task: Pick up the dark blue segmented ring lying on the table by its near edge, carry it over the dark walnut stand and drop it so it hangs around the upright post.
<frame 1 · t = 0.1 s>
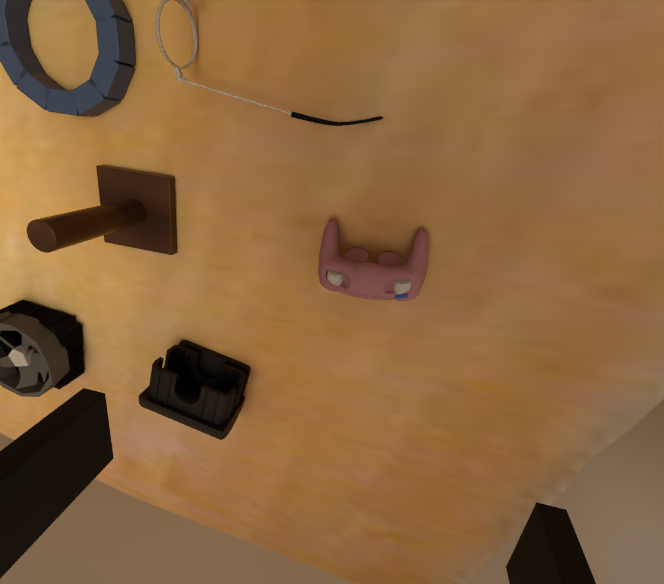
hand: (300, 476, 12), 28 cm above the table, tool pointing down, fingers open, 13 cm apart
eyeglasses: (293, 7, 32), on the table
video game controller: (375, 251, 38), on the table
stand: (141, 209, 41), on the table
end cap: (212, 374, 48), on the table
cpu cooler: (54, 337, 50), on the table
dark blue segmented ring: (71, 38, 36), on the table
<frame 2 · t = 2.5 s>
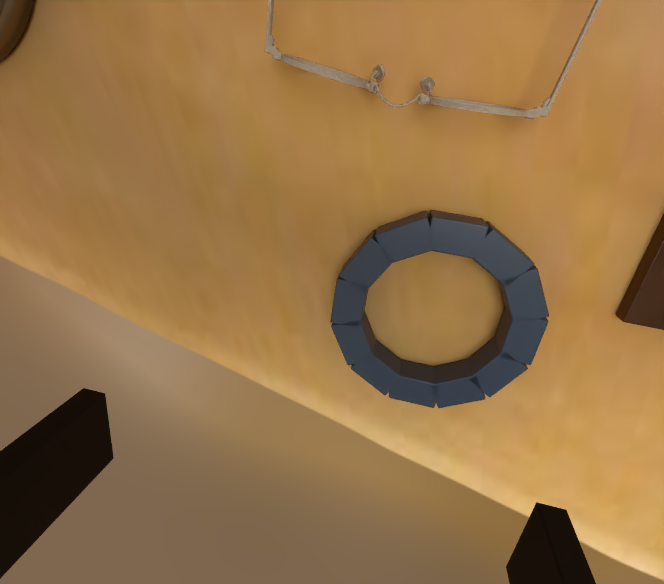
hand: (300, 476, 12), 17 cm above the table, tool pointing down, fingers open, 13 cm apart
dark blue segmented ring: (431, 307, 27), on the table
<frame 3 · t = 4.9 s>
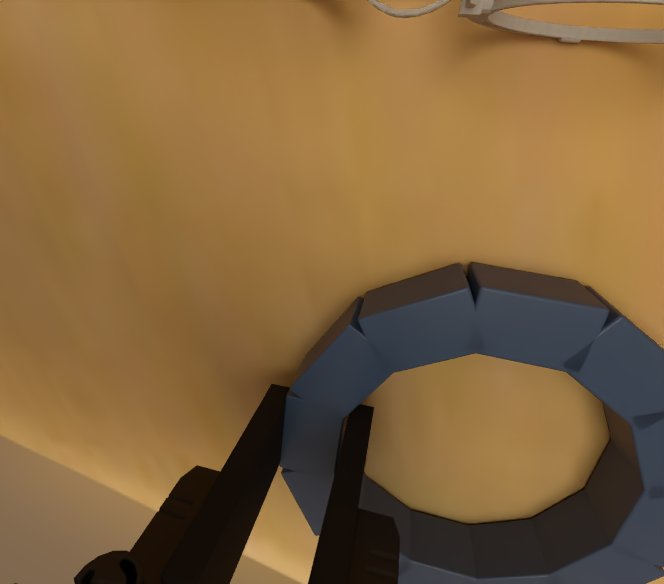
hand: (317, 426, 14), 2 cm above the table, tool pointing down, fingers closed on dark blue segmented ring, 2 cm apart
dark blue segmented ring: (467, 433, 14), on the table, touching gripper
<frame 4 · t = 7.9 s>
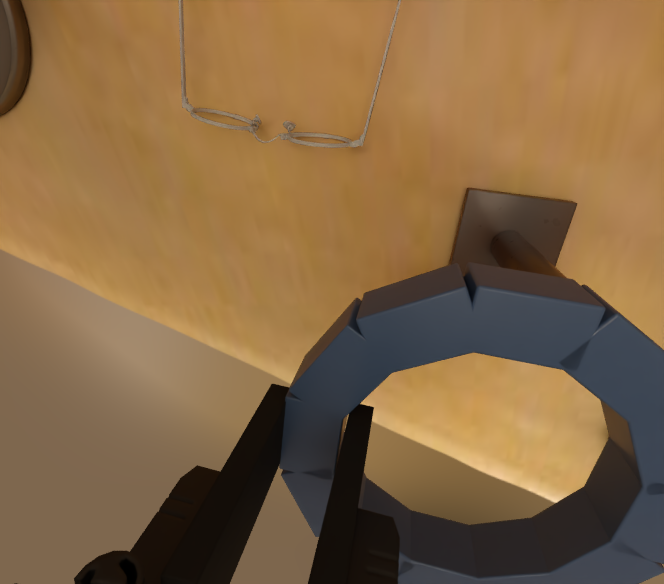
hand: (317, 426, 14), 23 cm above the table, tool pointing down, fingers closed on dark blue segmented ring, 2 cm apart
eyeglasses: (297, 10, 29), on the table
stand: (504, 243, 32), on the table
dark blue segmented ring: (466, 433, 14), point 21 cm above the table, touching gripper
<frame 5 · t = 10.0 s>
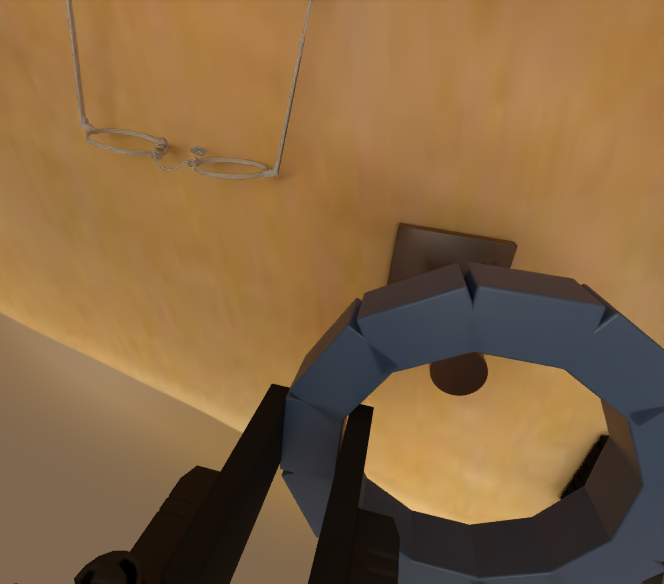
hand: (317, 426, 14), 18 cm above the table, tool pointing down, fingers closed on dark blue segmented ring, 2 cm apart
eyeglasses: (207, 22, 26), on the table
stand: (442, 283, 29), on the table
cpu cooler: (634, 481, 32), on the table
dark blue segmented ring: (467, 432, 14), point 16 cm above the table, touching gripper
when the fingers open (14 cm above the table, at t = 11.4 s): dark blue segmented ring drops 11 cm, resting on stand.
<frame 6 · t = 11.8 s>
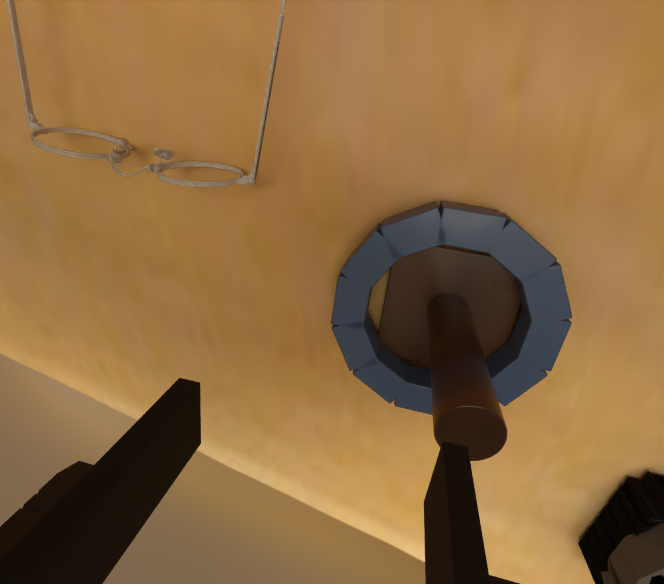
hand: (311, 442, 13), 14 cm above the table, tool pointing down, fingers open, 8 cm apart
eyeglasses: (172, 4, 22), on the table
stand: (446, 305, 25), on the table
cpu cooler: (663, 526, 28), on the table
dark blue segmented ring: (441, 308, 24), point 1 cm above the table, touching stand
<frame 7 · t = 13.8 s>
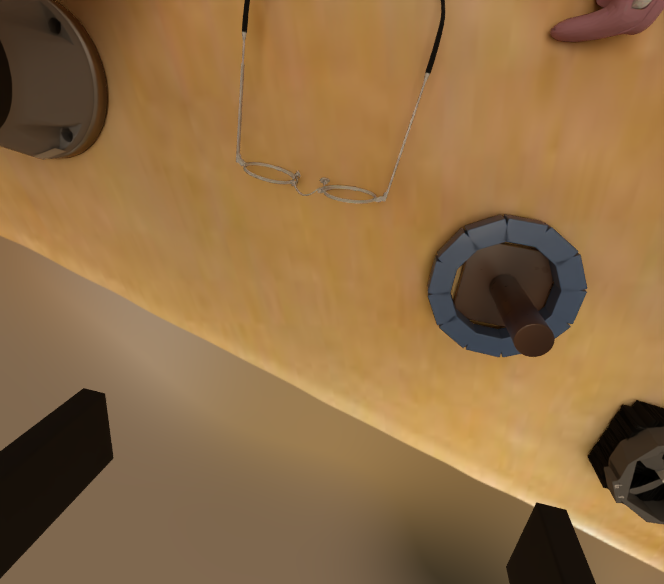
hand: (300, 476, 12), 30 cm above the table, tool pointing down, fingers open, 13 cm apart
eyeglasses: (335, 87, 35), on the table
stand: (501, 283, 38), on the table
cpu cooler: (647, 442, 41), on the table
dark blue segmented ring: (499, 284, 37), point 1 cm above the table, touching stand
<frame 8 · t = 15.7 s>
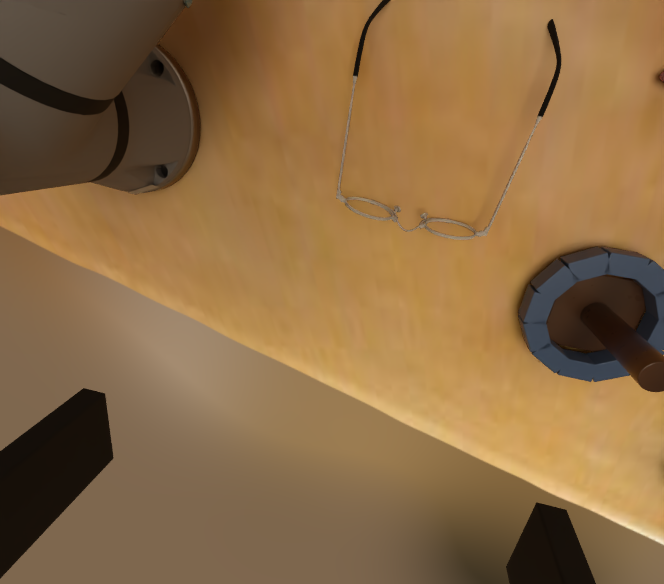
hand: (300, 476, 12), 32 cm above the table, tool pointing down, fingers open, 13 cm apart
eyeglasses: (435, 125, 36), on the table
stand: (591, 310, 39), on the table
dark blue segmented ring: (591, 311, 38), point 1 cm above the table, touching stand
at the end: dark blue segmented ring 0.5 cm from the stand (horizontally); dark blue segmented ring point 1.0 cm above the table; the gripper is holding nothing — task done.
